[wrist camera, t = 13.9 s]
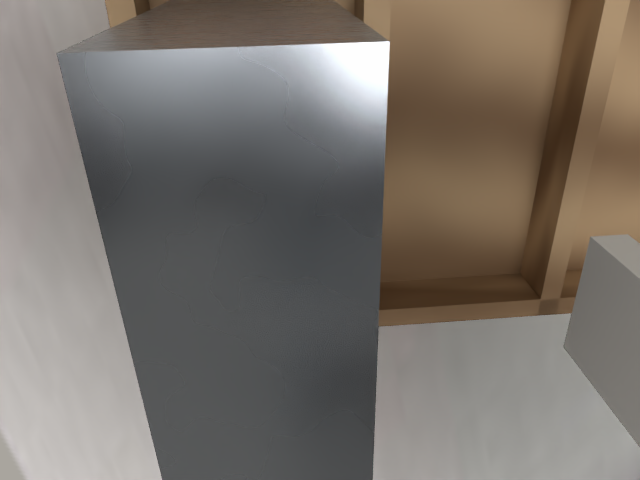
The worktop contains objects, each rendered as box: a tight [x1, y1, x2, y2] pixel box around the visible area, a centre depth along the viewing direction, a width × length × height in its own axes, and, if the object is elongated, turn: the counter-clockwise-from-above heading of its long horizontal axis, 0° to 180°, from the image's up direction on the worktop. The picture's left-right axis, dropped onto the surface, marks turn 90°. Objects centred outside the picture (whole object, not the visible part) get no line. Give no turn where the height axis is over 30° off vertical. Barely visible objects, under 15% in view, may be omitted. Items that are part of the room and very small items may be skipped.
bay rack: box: [105, 0, 640, 327], centre depth 19 cm, size 15×23×3 cm, turn 91°
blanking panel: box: [57, 0, 390, 480], centre depth 14 cm, size 10×4×12 cm, turn 1°
